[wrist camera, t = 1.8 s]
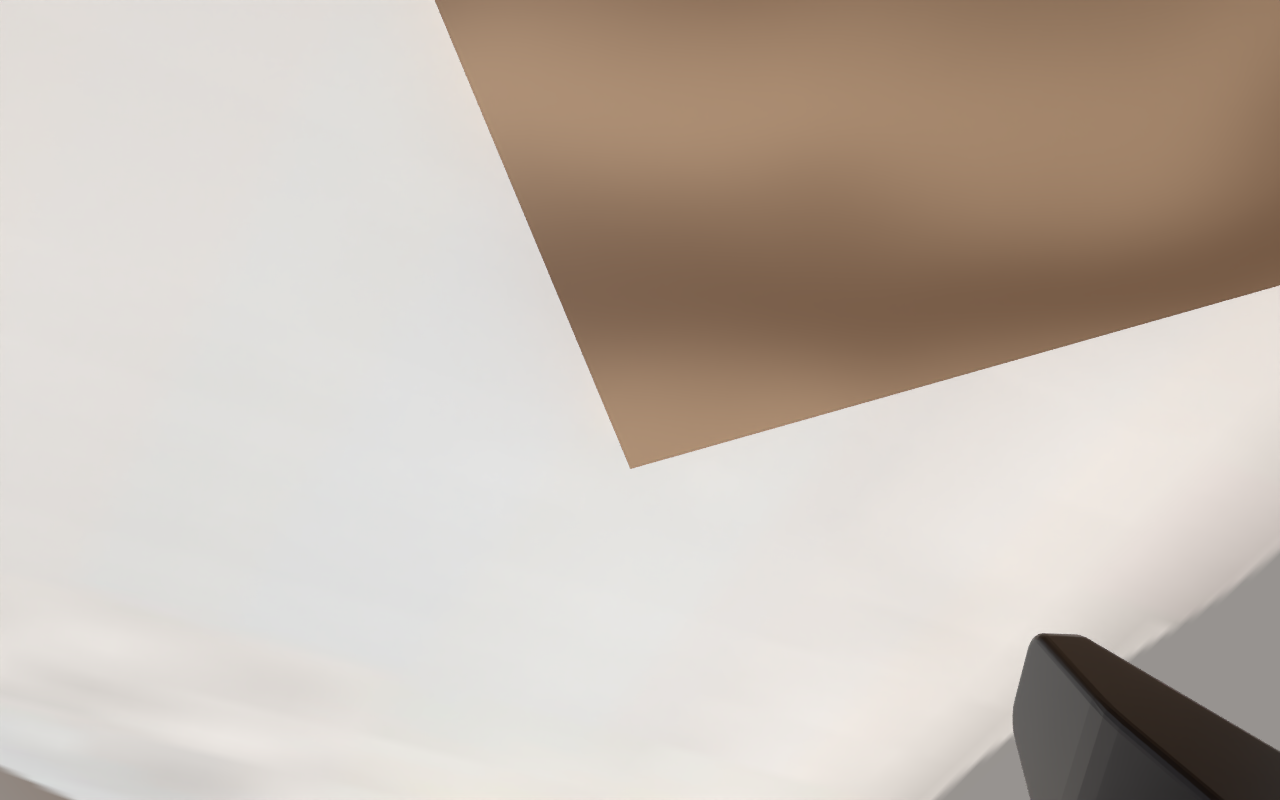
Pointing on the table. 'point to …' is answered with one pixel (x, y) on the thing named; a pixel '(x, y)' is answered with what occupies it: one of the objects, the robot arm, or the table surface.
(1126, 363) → the table surface
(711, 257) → the walnut board
